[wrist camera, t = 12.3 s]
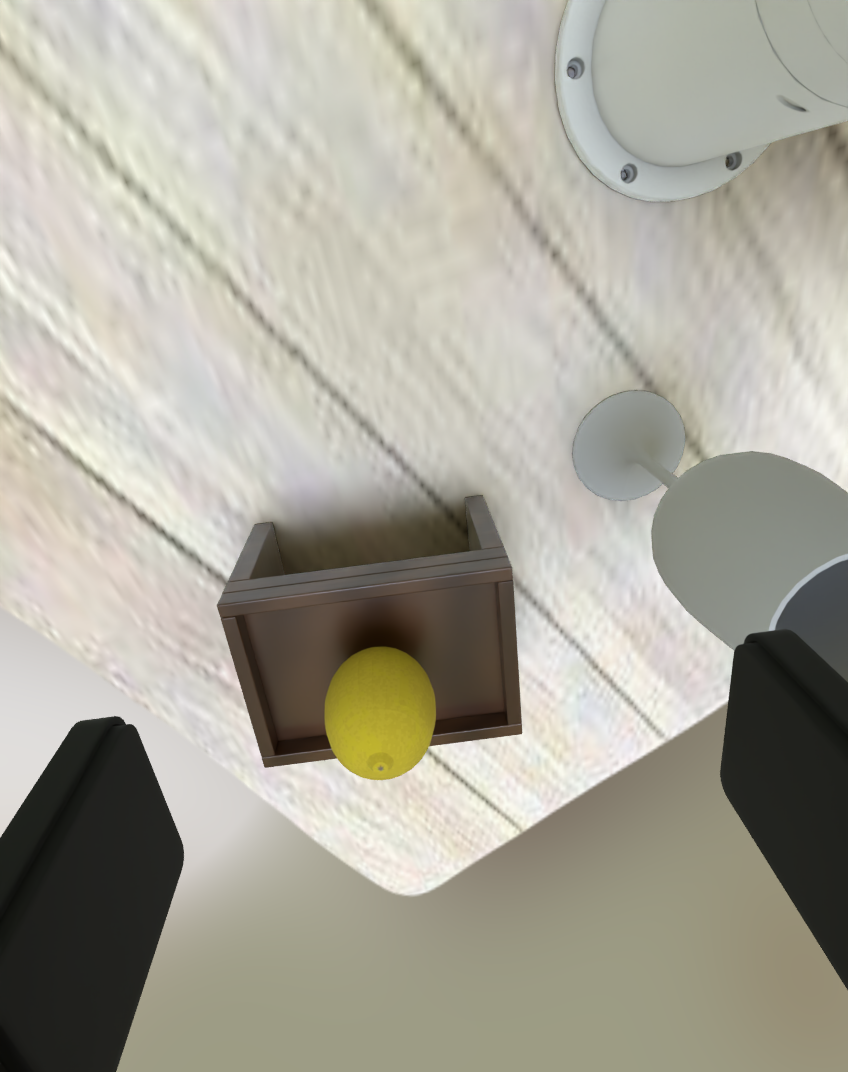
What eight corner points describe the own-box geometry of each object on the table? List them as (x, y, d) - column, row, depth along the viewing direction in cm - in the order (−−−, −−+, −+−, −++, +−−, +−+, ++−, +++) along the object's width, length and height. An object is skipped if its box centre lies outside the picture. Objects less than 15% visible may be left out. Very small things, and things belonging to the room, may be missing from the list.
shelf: (482, 494, 41) (512, 566, 31) (493, 635, 45) (522, 734, 36) (254, 524, 41) (216, 605, 31) (288, 662, 45) (264, 768, 36)
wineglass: (696, 386, 38) (1006, 519, 19) (674, 501, 42) (921, 713, 23) (576, 386, 38) (771, 523, 19) (563, 503, 41) (719, 719, 22)
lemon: (435, 693, 36) (448, 805, 29) (340, 706, 36) (329, 821, 29) (424, 611, 34) (435, 711, 26) (321, 625, 34) (305, 729, 26)
